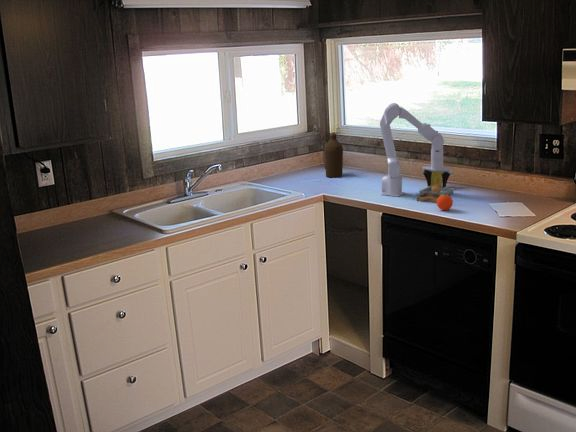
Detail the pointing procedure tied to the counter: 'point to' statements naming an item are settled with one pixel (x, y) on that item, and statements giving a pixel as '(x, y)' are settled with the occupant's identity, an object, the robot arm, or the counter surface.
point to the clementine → (444, 202)
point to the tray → (428, 197)
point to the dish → (443, 192)
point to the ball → (436, 188)
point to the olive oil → (333, 157)
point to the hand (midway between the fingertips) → (436, 186)
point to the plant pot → (436, 178)
